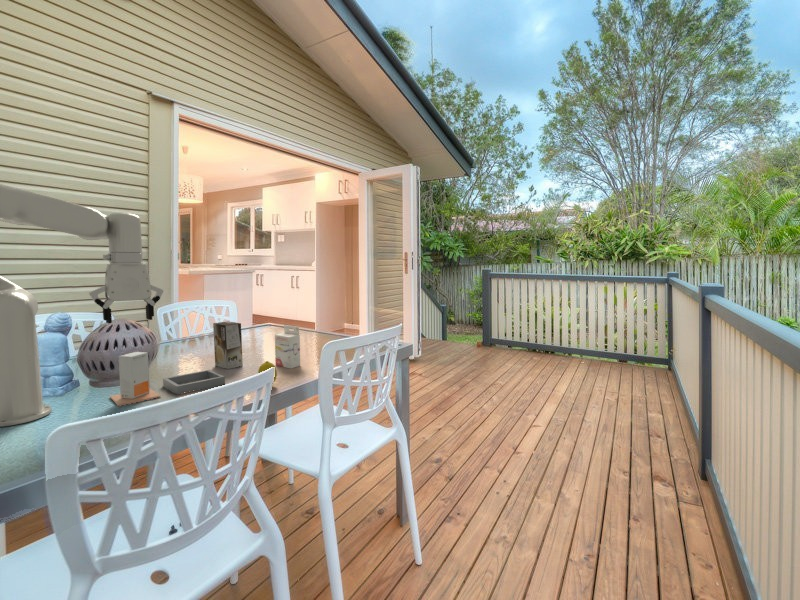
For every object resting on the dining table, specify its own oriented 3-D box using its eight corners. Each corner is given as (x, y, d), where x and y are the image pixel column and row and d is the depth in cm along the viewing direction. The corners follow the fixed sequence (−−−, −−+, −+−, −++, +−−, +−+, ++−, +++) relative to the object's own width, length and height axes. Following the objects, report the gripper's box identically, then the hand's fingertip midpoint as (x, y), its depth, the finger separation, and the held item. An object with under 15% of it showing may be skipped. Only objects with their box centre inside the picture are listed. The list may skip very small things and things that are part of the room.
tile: (118, 406, 108) (118, 404, 108) (109, 398, 115) (109, 395, 115) (160, 397, 115) (160, 395, 115) (149, 389, 122) (149, 388, 122)
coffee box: (243, 365, 151) (242, 323, 149) (227, 369, 146) (225, 325, 144) (230, 362, 156) (228, 320, 155) (214, 365, 151) (212, 322, 149)
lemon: (258, 390, 122) (257, 364, 121) (258, 384, 127) (258, 359, 127) (277, 388, 124) (276, 362, 123) (277, 383, 129) (276, 358, 128)
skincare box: (133, 399, 112) (130, 356, 111) (120, 398, 113) (117, 356, 112) (150, 392, 118) (148, 352, 117) (138, 391, 119) (136, 351, 118)
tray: (177, 394, 118) (176, 386, 117) (163, 386, 126) (162, 378, 126) (225, 384, 128) (224, 376, 128) (209, 377, 136) (209, 369, 136)
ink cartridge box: (274, 365, 151) (273, 326, 150) (285, 362, 155) (283, 324, 154) (290, 368, 146) (289, 328, 145) (301, 365, 151) (300, 326, 149)
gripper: (90, 258, 103) (94, 325, 104) (165, 259, 115) (168, 319, 117) (84, 259, 108) (88, 322, 109) (157, 259, 120) (159, 317, 122)
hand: (129, 321), depth 113 cm, fingers open, 9 cm apart
